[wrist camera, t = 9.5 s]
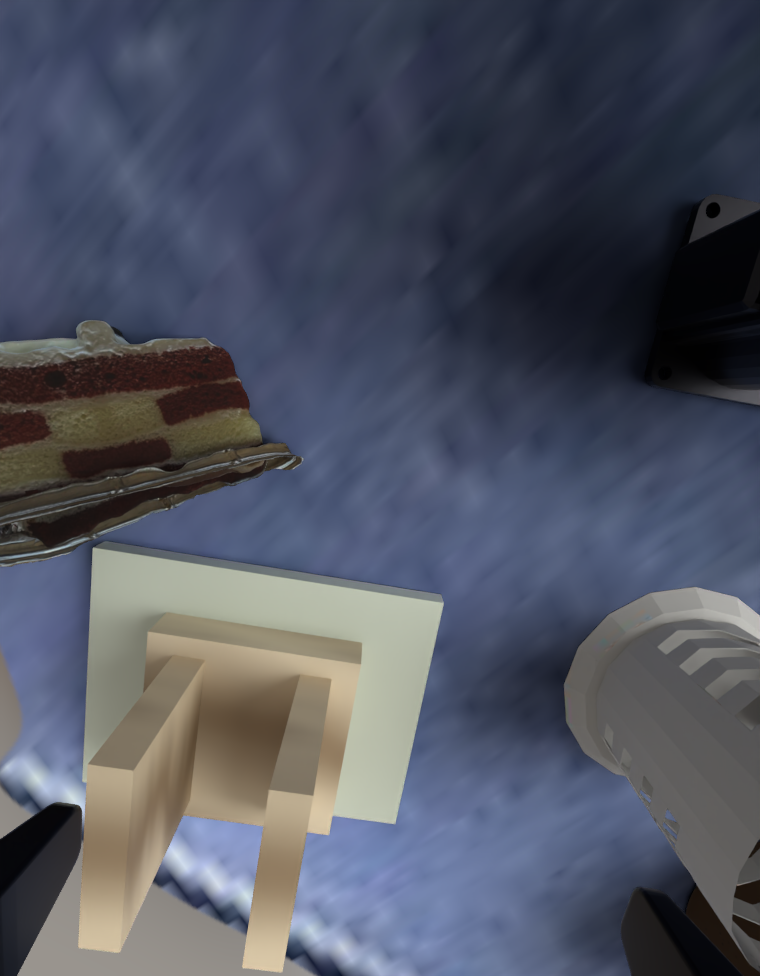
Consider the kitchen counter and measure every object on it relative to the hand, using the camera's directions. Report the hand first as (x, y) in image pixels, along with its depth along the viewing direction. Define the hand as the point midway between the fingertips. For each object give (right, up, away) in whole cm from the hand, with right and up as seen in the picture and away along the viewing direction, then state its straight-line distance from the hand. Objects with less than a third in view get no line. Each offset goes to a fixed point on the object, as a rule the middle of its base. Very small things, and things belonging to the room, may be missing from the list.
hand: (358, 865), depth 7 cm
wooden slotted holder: (-5, -4, +12) cm, 13 cm away
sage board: (-5, -3, +12) cm, 13 cm away
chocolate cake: (-9, +9, +10) cm, 16 cm away
